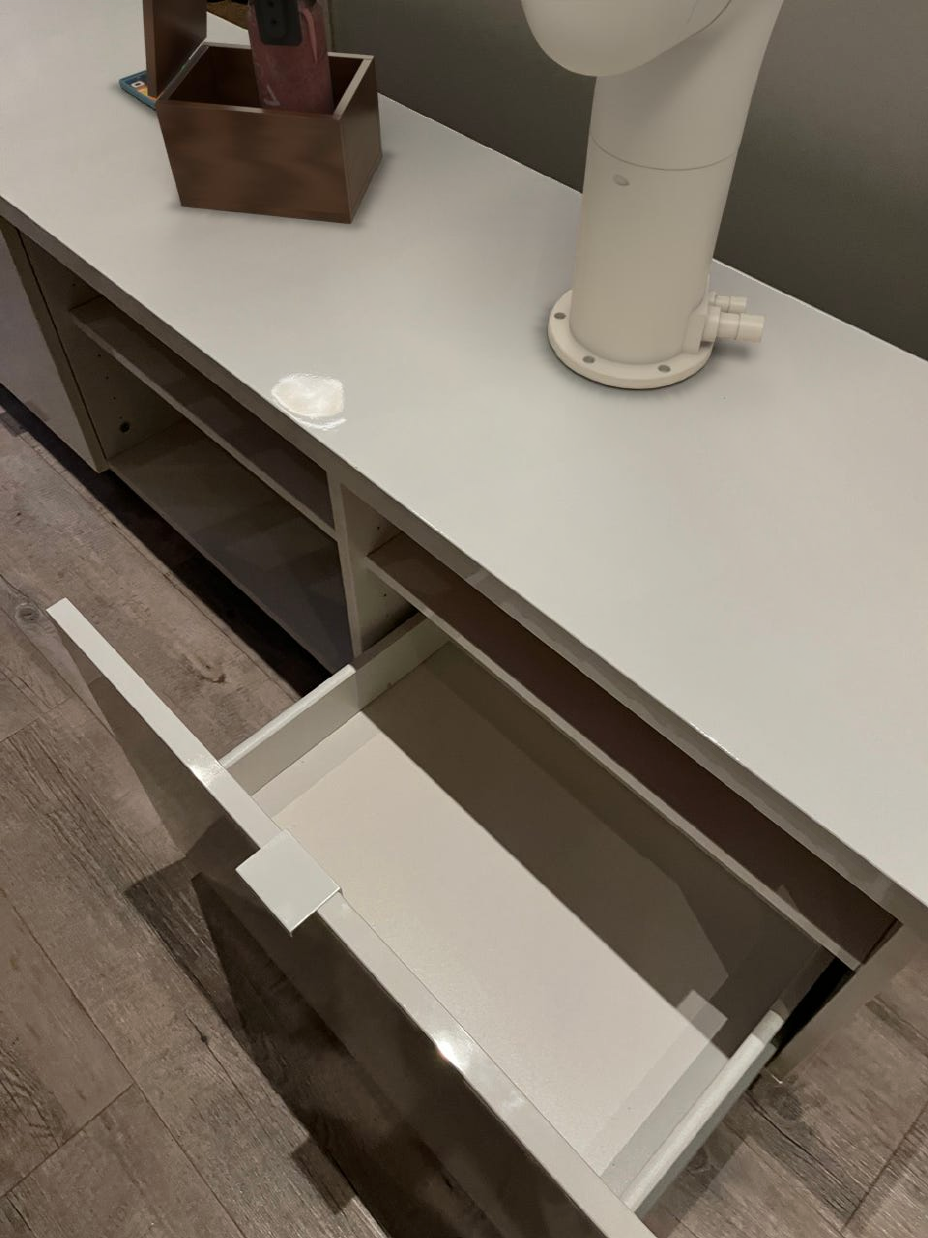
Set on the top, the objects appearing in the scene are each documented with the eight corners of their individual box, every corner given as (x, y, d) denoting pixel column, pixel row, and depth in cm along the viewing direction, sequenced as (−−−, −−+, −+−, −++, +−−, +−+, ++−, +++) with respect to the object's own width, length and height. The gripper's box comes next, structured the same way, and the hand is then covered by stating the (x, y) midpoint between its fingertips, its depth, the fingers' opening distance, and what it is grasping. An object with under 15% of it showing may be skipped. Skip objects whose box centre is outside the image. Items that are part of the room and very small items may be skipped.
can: (316, 199, 81) (291, 22, 70) (260, 179, 83) (227, 4, 72) (357, 169, 84) (339, -6, 73) (302, 150, 86) (276, -23, 75)
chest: (382, 156, 87) (374, 55, 80) (350, 223, 80) (339, 120, 73) (225, 140, 89) (203, 40, 82) (181, 205, 82) (153, 102, 75)
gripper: (270, -249, 54) (316, 68, 67) (347, -308, 64) (372, -22, 78) (150, -250, 55) (218, 62, 68) (244, -308, 65) (287, -26, 79)
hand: (300, 17), depth 73 cm, fingers open, 9 cm apart
